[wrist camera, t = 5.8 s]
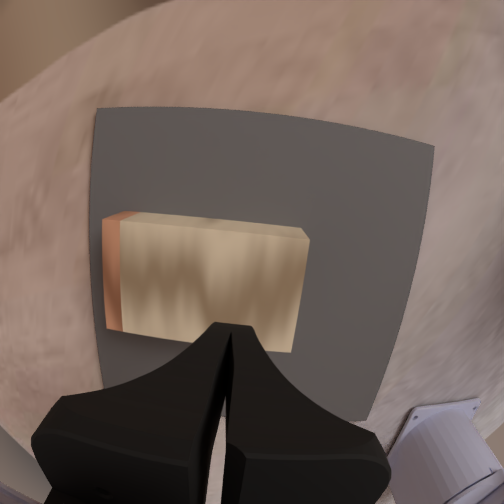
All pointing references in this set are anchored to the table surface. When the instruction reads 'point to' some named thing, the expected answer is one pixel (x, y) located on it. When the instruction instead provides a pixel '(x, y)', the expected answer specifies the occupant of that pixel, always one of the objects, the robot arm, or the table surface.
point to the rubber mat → (275, 213)
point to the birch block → (202, 276)
